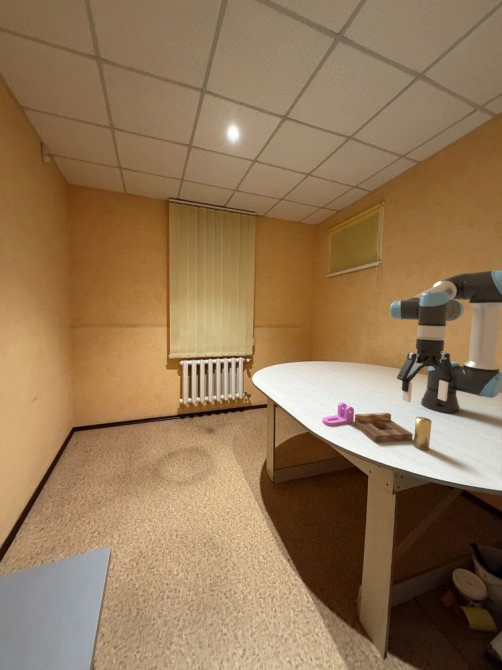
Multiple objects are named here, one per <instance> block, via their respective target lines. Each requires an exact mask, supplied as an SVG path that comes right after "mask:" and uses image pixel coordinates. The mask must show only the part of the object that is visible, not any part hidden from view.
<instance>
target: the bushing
mask: <svg viewBox="0 0 502 670" xmlns="http://www.w3.org/2000/svg"><path fill="white" fill-rule="evenodd" d="M432 422H433V421H432V420H431V419H429V418H427V417H425V416H416V418H415V424H414V433H413V436H414V437H413V447H414V448H416V449H417V450H419V451H423V452H427V451H429V450H430V441H431V431H432Z"/></svg>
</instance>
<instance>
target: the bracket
mask: <svg viewBox="0 0 502 670" xmlns="http://www.w3.org/2000/svg"><path fill="white" fill-rule="evenodd" d="M354 421H355V408H354V407H353V406H351V405H348V404H347V403H345V402H340V403H338V405H337V414H336V415H331V416H325V417H322V424H324V425H325V426H330V427H333V426H338V425H344V424H351V422H352V423H354Z"/></svg>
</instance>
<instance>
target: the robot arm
mask: <svg viewBox="0 0 502 670" xmlns="http://www.w3.org/2000/svg"><path fill="white" fill-rule="evenodd" d="M458 300H462V301H463V300H464V301H465V300H466V301H467V300H469V302H468V304H469V306H471V307H472V317H471V327H470V339H469V340H470V341H469V348H468V349H469V350H468V351H469V352H468V360H467V361H465V362H464V363H463V366H461V364H460V362H458V361H451V358H450V357H451V354H450V353H449V352H448V353H447V352H443V351H444V349H445V348H444V347H445V341H444V339H445V338H446V331H447V330H446V328H447V322H452V321H456V320H458V319H460V318H461V317H462V316H463V314H464V311H465V307H464V305H463V304H462V302H460V301H458ZM501 308H502V270H490V271H479V272H471V273H469V272H467V273H460V274H455V275H452V276H450V277H447V278H445V279H442V280H440V281H438V282H436V283H435V284H434V285H433V286H432V287H430V288H429V289H427V290H424V291H422V292H421V293H418V294H416V295H414V296H412V297H410V298H408V299H406V300H404V299H400V300H394V301H392V303H391V304H390V307H389V314H390V316H391V317H392V318H393V319H396V320H413V321H414V320H415V321H417V333H416V336H417V339H416V342H415V349H416V353H415V352H411V351H408V352H407V356H406V360H405V362H404V363H403V365H402V367H401V369H400V371H399V372H398V374H397V375H396V379H397V380H399V381H402V382H401V390H402V400H403V401H406V402H407V403H412V402H411V401H412V392H413V391H412V389H413V382H411V381H412V380H413V379H414V378H415V377H416V376H417V374H418V373H419V372H420V371H421V370H422V369H424V368H425V367H427V368H428V370H427V381H426V382H427V383H426V390H425V392H424V394H423V397H422V398H421V403H420V404H421V405H422V406H423V407H424V408H427V409H429V410H431V411H436V412H440V413H446V414H457V413H459V412H460V404H459V401H458V396H457V392H461V393H462V392H463V393H466V394H471V395H476V396H479V397H484V398H490V399H494V398H495V397H497V396H498V395H499V394H500V392H501V391H502V371H500V366H498V365H497V364H496V357H497V349H498V347H497V346H498V337H499V328H500V319H501Z"/></svg>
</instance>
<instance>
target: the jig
mask: <svg viewBox="0 0 502 670" xmlns="http://www.w3.org/2000/svg"><path fill="white" fill-rule="evenodd" d="M353 425H354V427H355V428H356V429H358V430H359V431H360V432H361V433H362V434H364V435H365V436H366V437H368V439H370V440H371V441H372V442H373V443H375V442H376V443H387V442H389V443H390V442H407V441H409V442H410V441H413V438H414V437H413V436H414V433H412V432H410V430H408V429H406V428H405V427H403V426H401V425H400V424H398V423H396V422H395V421H393V420H392V414H391V413H390V412H376V413H354V424H353ZM382 429H383V430H382Z"/></svg>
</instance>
